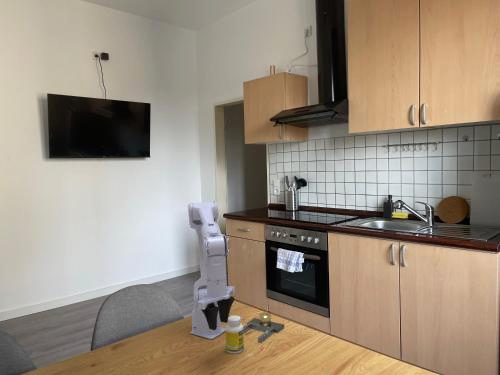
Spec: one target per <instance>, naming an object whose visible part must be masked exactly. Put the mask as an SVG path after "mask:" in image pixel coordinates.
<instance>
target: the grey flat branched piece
mask: <svg viewBox="0 0 500 375" xmlns="http://www.w3.org/2000/svg"><path fill="white" fill-rule="evenodd" d="M258 316H259V317H258V318H257V317H253V318H252V319H251V320H248V322H246V325H244V326H243V335H244V334H245V333H246V332H248V331H250V329H252V330H256V331H259V332H260V331H261V332H263V333H262V334H261V335H259V336H258V337H257V343H259V344H262V343H263V342H264V341H265V340H266V339H268V338H269V337H270V336H271V335H273V334H275V333H276V334H278V333H280V331H282V330H283V329H284V328H285V324H283V323H279V322H275V321H272V314H271V313H270V312H269V313H267V312H262V313H260V314H258Z"/></svg>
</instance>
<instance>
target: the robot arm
mask: <svg viewBox="0 0 500 375" xmlns="http://www.w3.org/2000/svg"><path fill="white" fill-rule="evenodd" d="M187 208H188V210H187V211H188V212H187V213H188V221H189V222H188V223H189V225H190V226H189V227H190V229H193V230H194V231H195V233H196V236H197V246H198V257H199V258H198V259H199V271H200V278H199V279H197V280H196V281H195V282H194V284H193V303H194V304H193V305H194V306H193V308H192V311H191V328H192V329H191V330H192V331H190V334H191V335H196V336H198V337H202V338H205V339H209V340H214V339H215V338H217V337H218V336H220V335H222V334H223V333H226V331H225V328H226V327H222V323H224V324H228V317H230V312H231V309H232V305H233V304H234V301H235V297H234V296H231V295H234V294H235V293H236V292H235V290H236V289H235V288H236V287H235V286H233V285H232V286H231V285H229V286H228V283H227V261H226V260H227V258H226V257H227V255H228V250H229V249H228V248H229V246H228V240H227V237H226V234H224V233H223V234H222V232H221V228H220V226H219V224H218V218H219V205H218V202H216V201H214V200H213V201H209V202H207V201H206V202H189V203H188V206H187Z"/></svg>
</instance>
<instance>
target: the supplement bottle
mask: <svg viewBox="0 0 500 375" xmlns="http://www.w3.org/2000/svg"><path fill="white" fill-rule="evenodd" d="M241 319H242V318H241V316H239V315H231V316H230V315H229V317H228V322H227V323H226V324H225V327H224V328H225V350H226V352H227V353H229V354H240V353H242V352H243V351H244V347H245V345H244V344H245V343H244V342H245V340H244V338H245V337H244V334H243V327H244V326H243V324H242V321H241Z"/></svg>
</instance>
